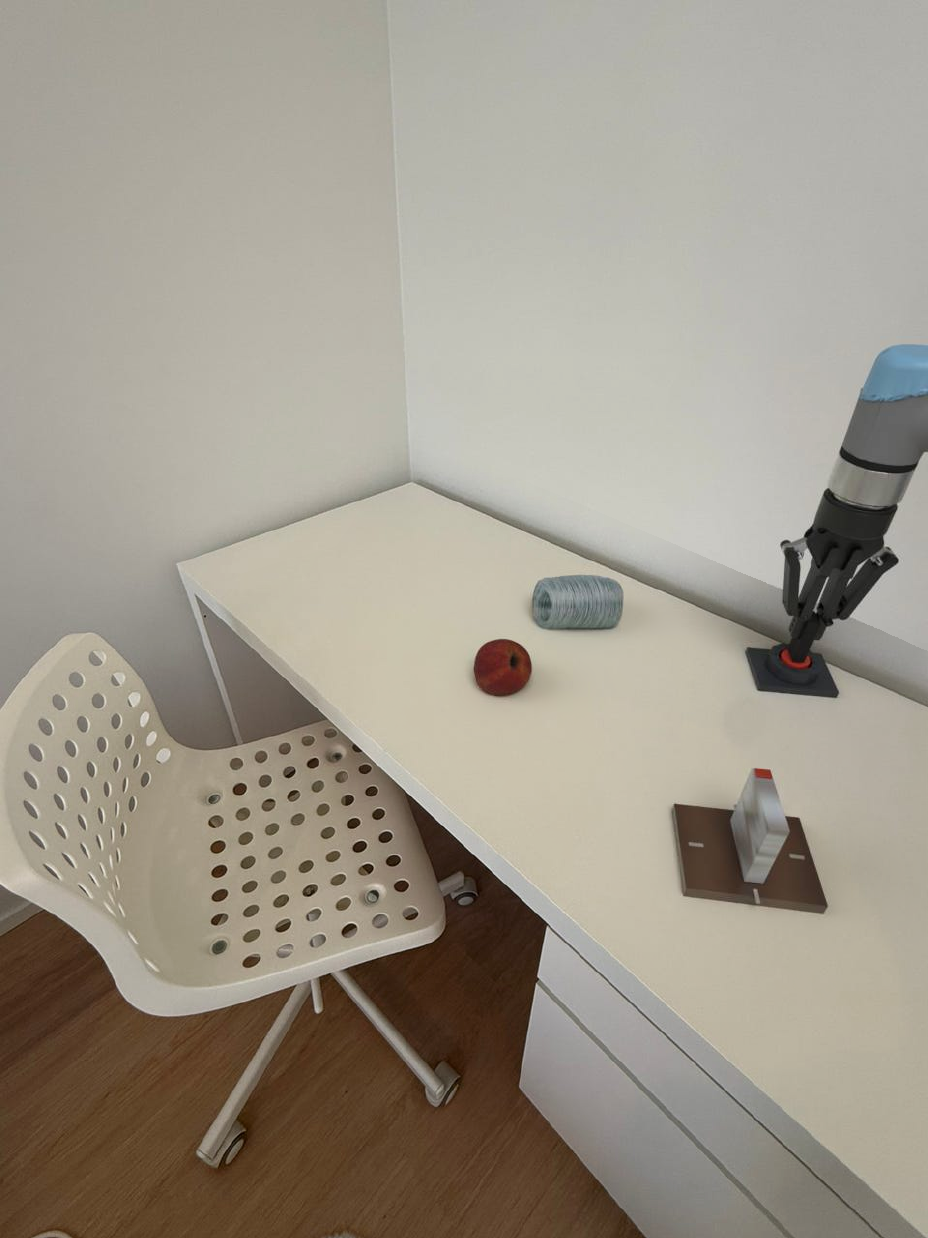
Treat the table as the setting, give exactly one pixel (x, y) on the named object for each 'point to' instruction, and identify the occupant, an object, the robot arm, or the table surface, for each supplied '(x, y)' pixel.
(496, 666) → the apple
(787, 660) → the button
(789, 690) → the switch block
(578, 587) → the spool
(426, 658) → the table surface
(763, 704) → the table surface
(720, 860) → the base
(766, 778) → the tap handle
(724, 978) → the table surface
